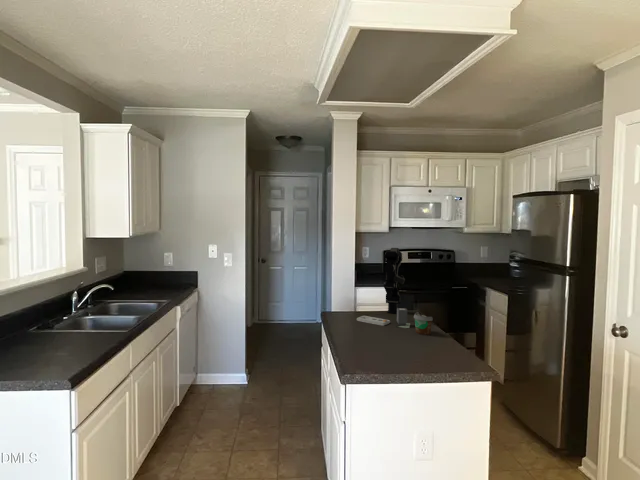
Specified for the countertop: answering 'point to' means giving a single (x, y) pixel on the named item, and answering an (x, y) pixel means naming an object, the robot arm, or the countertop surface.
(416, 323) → the food container
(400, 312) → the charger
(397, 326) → the mat
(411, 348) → the countertop surface
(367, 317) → the power strip
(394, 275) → the robot arm
